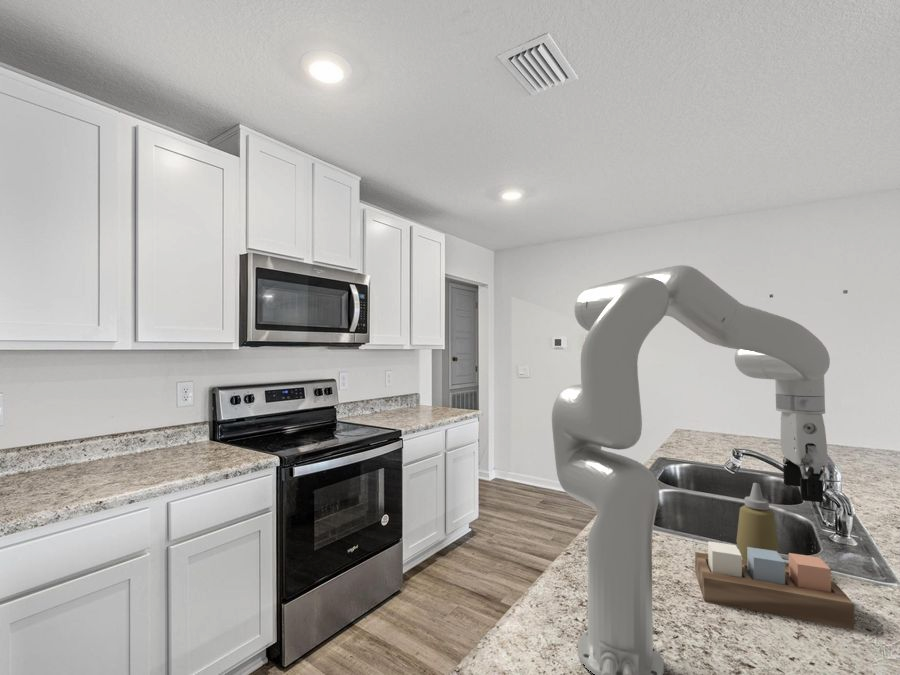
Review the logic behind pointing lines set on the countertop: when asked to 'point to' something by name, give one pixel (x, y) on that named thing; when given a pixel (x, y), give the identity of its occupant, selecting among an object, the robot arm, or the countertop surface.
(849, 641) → the countertop surface
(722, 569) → the key cream
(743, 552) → the squeeze bottle
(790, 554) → the peach cube
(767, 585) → the wooden compartment tray
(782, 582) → the key slate
